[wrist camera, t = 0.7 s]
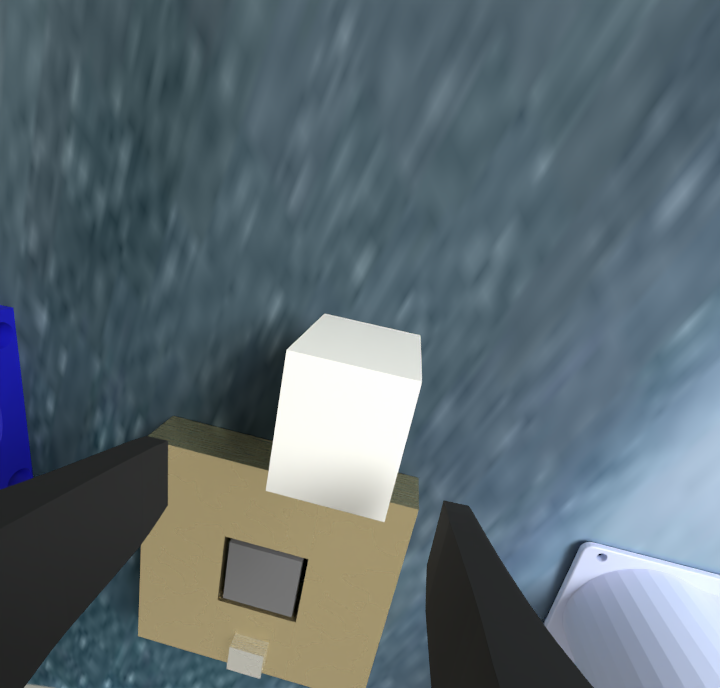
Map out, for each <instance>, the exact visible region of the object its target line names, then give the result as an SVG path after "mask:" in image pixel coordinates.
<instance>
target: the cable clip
mask: <svg viewBox="0 0 720 688" xmlns="http://www.w3.org/2000/svg"><path fill="white" fill-rule="evenodd" d="M32 478H33V473H32V464H31V456H30V447H29V439H28V430H27V422H26V413H25V405H24V396H23V388H22V379H21V371H20V362H19V353H18V345H17V336H16V328H15V319H14V311H13V308H12V307H7V306H2V305H0V490H1V489H4V488H6V487H9V486H12V485H15V484H18V483H20V482H23V481H26V480H29V479H32Z"/></svg>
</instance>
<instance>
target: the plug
mask: <svg viewBox="0 0 720 688" xmlns="http://www.w3.org/2000/svg"><path fill="white" fill-rule="evenodd" d="M421 384H422V367H421V338H420V335H416V334H412V333H408V332H403V331H399V330H394V329H390V328H386V327H381V326H377V325H372V324H368V323H364V322H359V321H355V320H351V319H346V318H342V317H337V316H333V315H329V314H324V315H323V316H322V317H320V318H319V319H318V320H317V321H316V322H315V323H314V324H313V325H312V326H311V327H310V328H309V329H308V330H307V331H306V332H305V333H304V334H303V335H302V336H301V337H299V338H298V339H297V340H296V341H295V342H294V343H293V344H292V345H291V346H290V347H289V348H288V349H287V350H286V357H285V364H284V371H283V377H282V384H281V391H280V398H279V404H278V411H277V418H276V425H275V431H274V438H273V445H272V452H271V458H270V465H269V472H268V479H267V485H266V491H268V492H272V493H276V494H280V495H283V496H287V497H291V498H295V499H299V500H302V501H306V502H310V503H314V504H317V505H321V506H325V507H329V508H333V509H336V510H340V511H344V512H348V513H352V514H355V515H359V516H363V517H367V518H370V519H374V520H378V521H382V522H385V518H386V514H387V511H388V507H389V503H390V500H391V496H392V492H393V488H394V485H395V481H396V477H397V473H398V470H399V466H400V462H401V458H402V455H403V451H404V447H405V444H406V440H407V436H408V432H409V429H410V425H411V421H412V417H413V414H414V410H415V406H416V402H417V399H418V395H419V391H420V388H421Z"/></svg>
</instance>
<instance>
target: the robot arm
mask: <svg viewBox="0 0 720 688" xmlns="http://www.w3.org/2000/svg"><path fill="white" fill-rule="evenodd" d="M167 506H168V441H167V440H163V439H158V438H153V437H149V436H145V437H142V438H138V439H135V440H132V441H130V442H127V443H124V444H121V445H119V446H116V447H114V448H111V449H108V450H106V451H103V452H101V453H98V454H96V455H93V456H90V457H88V458H85V459H83V460H80V461H77V462H75V463H72V464H70V465H67V466H64V467H62V468H59V469H57V470H54V471H51V472H49V473H46V474H43V475H40V476H37V477H35V478H32V479H29V480H26V481H23V482H20V483H18V484H15V485H12V486H9V487H6V488H4V489H1V490H0V688H24V687H25V685H26V684H27V683H28V681H29V680H30V679H31V677H32V676H33V674H34V673H35V672H36V670H37V669H38V668H39V666H40V665H41V664H42V662H43V661H44V660H45V658H46V657H47V655H48V654H49V653H50V651H51V650H52V649H53V648H54V646H55V645H56V644H57V643H58V641H59V640H60V639H61V638H62V636H63V635H64V634H65V633H66V632H67V630H68V629H69V628H70V627H71V626H72V624H73V623H74V622H75V621H76V620H77V619H78V617H79V616H80V615H81V614H82V613H83V612H84V611H85V609H86V608H87V607H88V606H89V605H90V604H91V602H92V601H93V600H94V599H95V598H96V597H97V596H98V594H99V593H100V592H101V591H102V590H103V589H104V587H105V586H106V585H107V584H108V583H109V582H110V581H111V579H112V578H113V577H114V576H115V575H116V574H117V572H118V571H119V570H120V569H121V568H122V567H123V565H124V564H125V563H126V562H127V561H128V560H129V558H130V557H131V556H132V555H133V554H134V552H135V551H136V550H137V549H138V548H139V547H140V545H141V544H142V543H143V542H144V540H145V539H146V537H147V536H148V535H149V533H150V532H151V530H152V529H153V527H154V526H155V524H156V523H157V521H158V520H159V518H160V517H161V515H162V514H163V512H164V511H165V509H166V508H167ZM601 553H603V554H602V555H600V556H598V554H601ZM426 623H427V636H428V650H429V663H430V676H431V688H720V575H718V574H714V573H710V572H706V571H702V570H699V569H695V568H691V567H687V566H683V565H679V564H675V563H671V562H668V561H664V560H660V559H656V558H652V557H648V556H644V555H640V554H636V553H633V552H629V551H625V550H621V549H617V548H613V547H609V546H605V545H601V544H598V543H594V542H586V543H584V544H582V545H581V546H580V548H579V550H578V552H577V554H576V556H575V558H574V560H573V563H572V565H571V567H570V569H569V571H568V573H567V575H566V577H565V580H564V582H563V584H562V586H561V588H560V590H559V592H558V595H557V597H556V599H555V601H554V603H553V605H552V607H551V609H550V612H549V614H548V616H547V618H546V620H545V622H544V624H543V622H542V621H541V620H540V618H539V617H538V615H537V614H536V613H535V611H534V610H533V608H532V607H531V606H530V604H529V603H528V601H527V600H526V598H525V597H524V595H523V594H522V592H521V591H520V589H519V588H518V586H517V585H516V583H515V581H514V580H513V578H512V577H511V575H510V574H509V572H508V571H507V569H506V567H505V566H504V564H503V563H502V561H501V559H500V558H499V556H498V555H497V553H496V551H495V550H494V548H493V546H492V545H491V543H490V541H489V540H488V538H487V536H486V534H485V533H484V531H483V529H482V527H481V526H480V524H479V522H478V520H477V519H476V517H475V515H474V514H473V512H472V510H471V509H470V507H469V506H467V505H462V504H457V503H453V502H448V501H443V505H442V509H441V513H440V517H439V521H438V525H437V528H436V532H435V536H434V540H433V544H432V548H431V552H430V556H429V559H428V563H427V577H426ZM574 663H575V664H576V665H575V664H574Z"/></svg>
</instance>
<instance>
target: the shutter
mask: <svg viewBox="0 0 720 688" xmlns="http://www.w3.org/2000/svg"><path fill="white" fill-rule="evenodd" d="M303 562H304V558H302V557H298V556H295V555H291V554H287V553H284V552H280V551H276V550H273V549H269V548H265V547H262V546H258V545H255V544H251V543H247V542H244V541H240V540H236V539H233V538H232V539H231V541H230V544H229V552H228V561H227V569H226V577H225V586H224V594H223V598H226V599H229V600H233V601H236V602H240V603H243V604H247V605H250V606H254V607H257V608H261V609H264V610H268V611H271V612H275V613H278V614H282V615H285V616H289V617H292V614H293V610H294V607H295V602H296V597H297V592H298V587H299V582H300V577H301V572H302V567H303Z"/></svg>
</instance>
